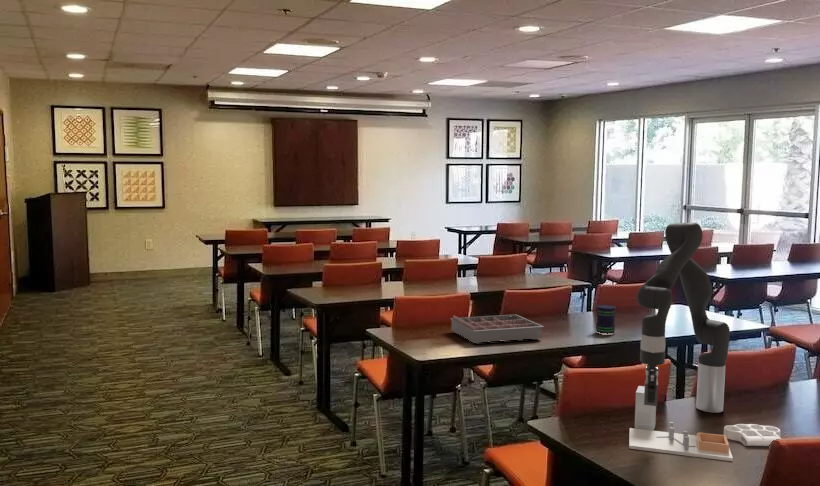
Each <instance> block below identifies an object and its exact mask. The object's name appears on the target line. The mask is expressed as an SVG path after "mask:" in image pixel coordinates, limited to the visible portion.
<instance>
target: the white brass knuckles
mask: <svg viewBox="0 0 820 486" xmlns="http://www.w3.org/2000/svg"><path fill="white" fill-rule="evenodd" d="M723 435H726V437H727V440H732V441H737V442H740V443H741V444H742V445H743V446H746V447H770V446H769V444H770V443H771V442H772V441H773V440H776V439H782V438H781V429H780V428H778V427H776V426H774V425H773V426H772V425H760V424H757V423H756V424H755V423H754V424H753V423H749V424H748V423H747V424H745V423H737V424H733V425H731V424H730V425H728V424H727V425H724V427H723Z"/></svg>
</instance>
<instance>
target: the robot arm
mask: <svg viewBox="0 0 820 486" xmlns="http://www.w3.org/2000/svg"><path fill="white" fill-rule="evenodd" d="M664 235H665V241H666V244H667V248H668V250H669V252H670V254H669V255H668V256H666V257H665V258H664V259H663V260H661V261H660V263H659V264H658V266H657V267H656V269H655V271H654V272H653V275H652V276H651V277H650V278H649V279H648V280H647V281H645V282H644V283H643V285H641V287H640V288H639V289H638V292H637V293H636V294H637V295H636V301H637V303H638V305H639V307H641V308H646V309H653V310H657V313H656V314H651V315H650V314H649V315H645V316H643V317H642V321H641V322H642V323H641V337H640V351H639V352H640V353H639V354H640V355H639V361H640V362H641V363H642V364H643V365H644V364H645V365H646V366H645V369H644V370H645V380H646V383H647V384H648V388H647V391H648V397H647V401H648V402H650V403H654V402H655V391H656V384H657V381H658V378H659V373H660V372H659V371H660V370H659V367H657V366H662V365H664V364H665V362H666V360H665V359H666V322H667V319H668V315H669V311H670V309H671V306H672V303H673V293H672V291H671V290H672V288H673V287H674V285H675V284H676V282H677V279H678V277H680V282H681V286H682V289H683V292H684V295H685V298H686V300H687V305H688V308H689V312H690V316H691V322H692V327H693V332H694V336H695V338H696V340H697V342H699V343H701V344H704V345H708V346H712V348H711V351H708V352H704V353H703V352H702V353H699V355H698V360H697V361H698V362H697V363H698V364H697V383H696V384H697V386H696V405H695V407H696V409H698V410H700V411H703V412H707V413H712V414H713V413H715V414H716V413H717V414H718V413H722V412H724V403H725V385H726V384H725V382H726V381H725V379H726V365H727V358H728V355H729V354H728V353H729V344H730V336H731V331H730V330H731V329H730V327H729V325H728V324H727V323H726V322H723V321H720V320H715V319H714V320H713V319H710V318H709V317H708V315H707V311H706V310H707V309H706V308H707V306H708V304H709V302H710V300H711V297H712V295H713V288H712V284H711V281H710V277H709V275H708V274H707V272H706V271H705V270H704V268H702V267H701V266H700V265H699V264H698V263H697V262H696V261H695V260H694V259H693V258H692V257H693V256H694V254H695V253H696V252H697V250H699V247H700V246H701V244H702V242H703V235H704V234H703V229H702V227H701V225H700V224H699V223H698V222H674V223H669V224H668V225H667V226H666V228H665V232H664ZM650 385H653V386H654V387H649V386H650Z"/></svg>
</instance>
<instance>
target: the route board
mask: <svg viewBox="0 0 820 486" xmlns="http://www.w3.org/2000/svg"><path fill="white" fill-rule="evenodd" d="M628 435H629V437H628V438H629V439H628V443H629V444H628V449H632V450H638V451H647V452H656V453H663V454H669V455H670V454H672V455H680V456H681V455H682V456H687V457H695V458H704V459H709V460H710V459H711V460H719V461H720V460H721V461H726V462H727V461H728V462H733V459H734V458H733V457H734V456H733V455H732V452H731V448H730V447H729V453H724V452H715V451H707V450H699V449H698V444H697V440H696V439H697V434H696V435H695V434H689V431H688V430H683V433H677V432H675V427H674V422H673V421H669V424H668V431H659V430H654V431H652V430H643V429H635V427H634V428H632V427H629V434H628ZM704 442H706V441H704ZM713 443H714V442H713ZM722 444H723V443H722Z"/></svg>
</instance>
